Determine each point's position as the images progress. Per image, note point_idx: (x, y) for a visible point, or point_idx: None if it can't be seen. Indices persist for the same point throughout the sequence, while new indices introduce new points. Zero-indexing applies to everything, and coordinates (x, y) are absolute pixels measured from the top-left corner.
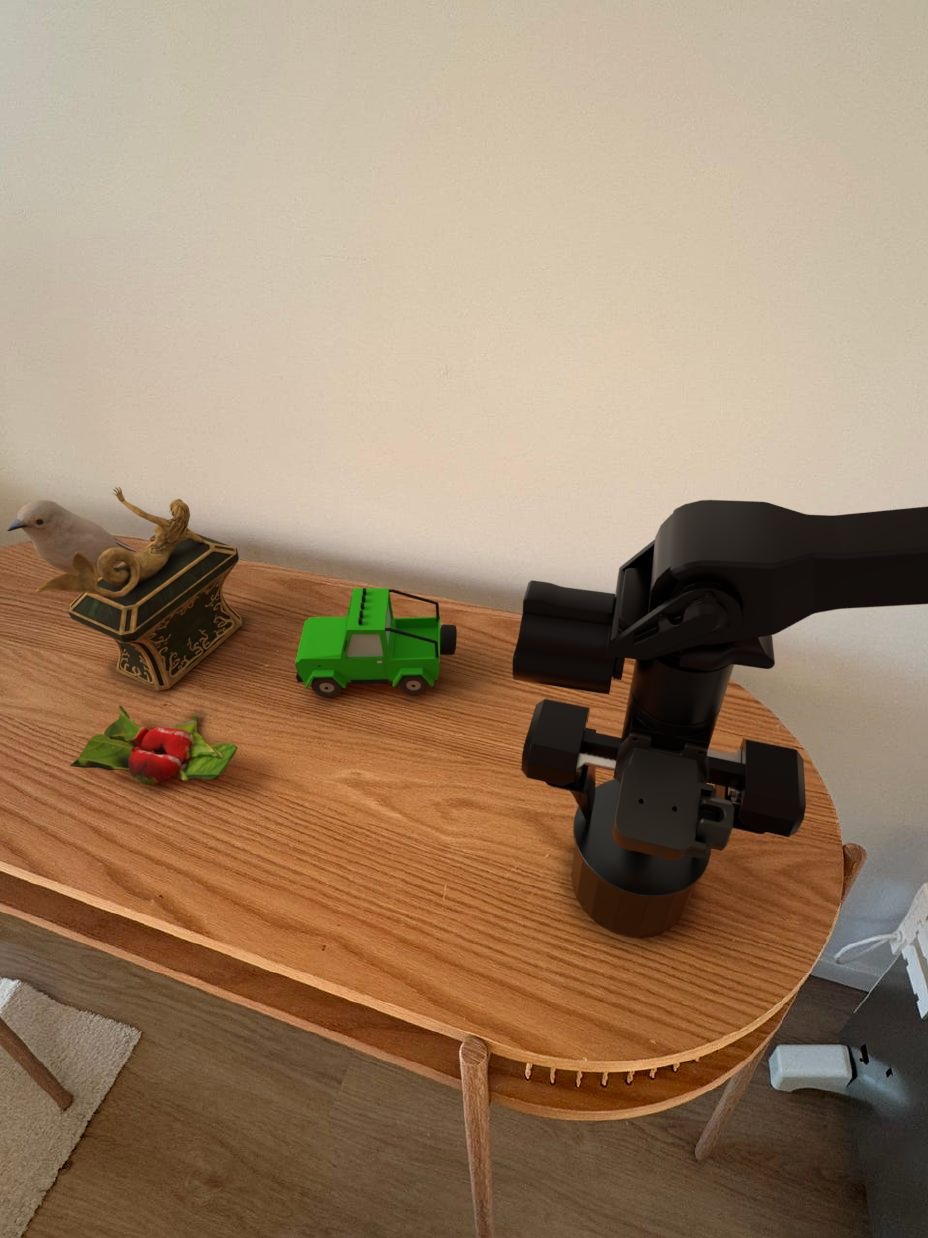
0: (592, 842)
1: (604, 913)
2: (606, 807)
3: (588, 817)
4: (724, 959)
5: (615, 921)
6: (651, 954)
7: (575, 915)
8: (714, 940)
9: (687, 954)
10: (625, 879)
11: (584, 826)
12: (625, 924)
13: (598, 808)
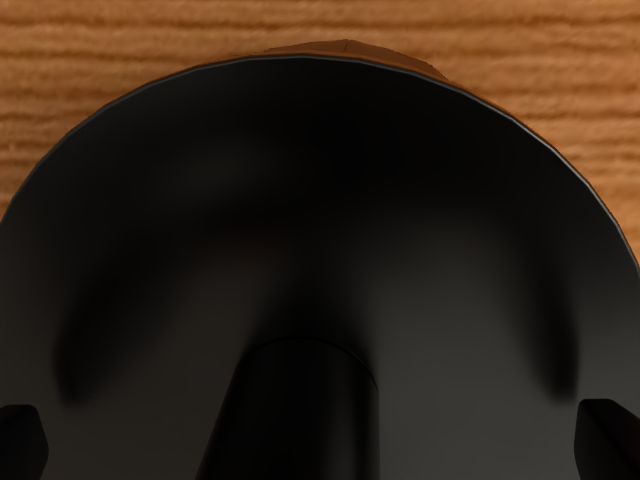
0: (542, 287)
1: (391, 58)
2: (491, 478)
3: (614, 421)
4: (16, 78)
5: (346, 45)
6: (217, 13)
7: (481, 59)
8: (58, 127)
9: (116, 54)
10: (327, 127)
11: (595, 361)
12: (309, 48)
13: (531, 465)
